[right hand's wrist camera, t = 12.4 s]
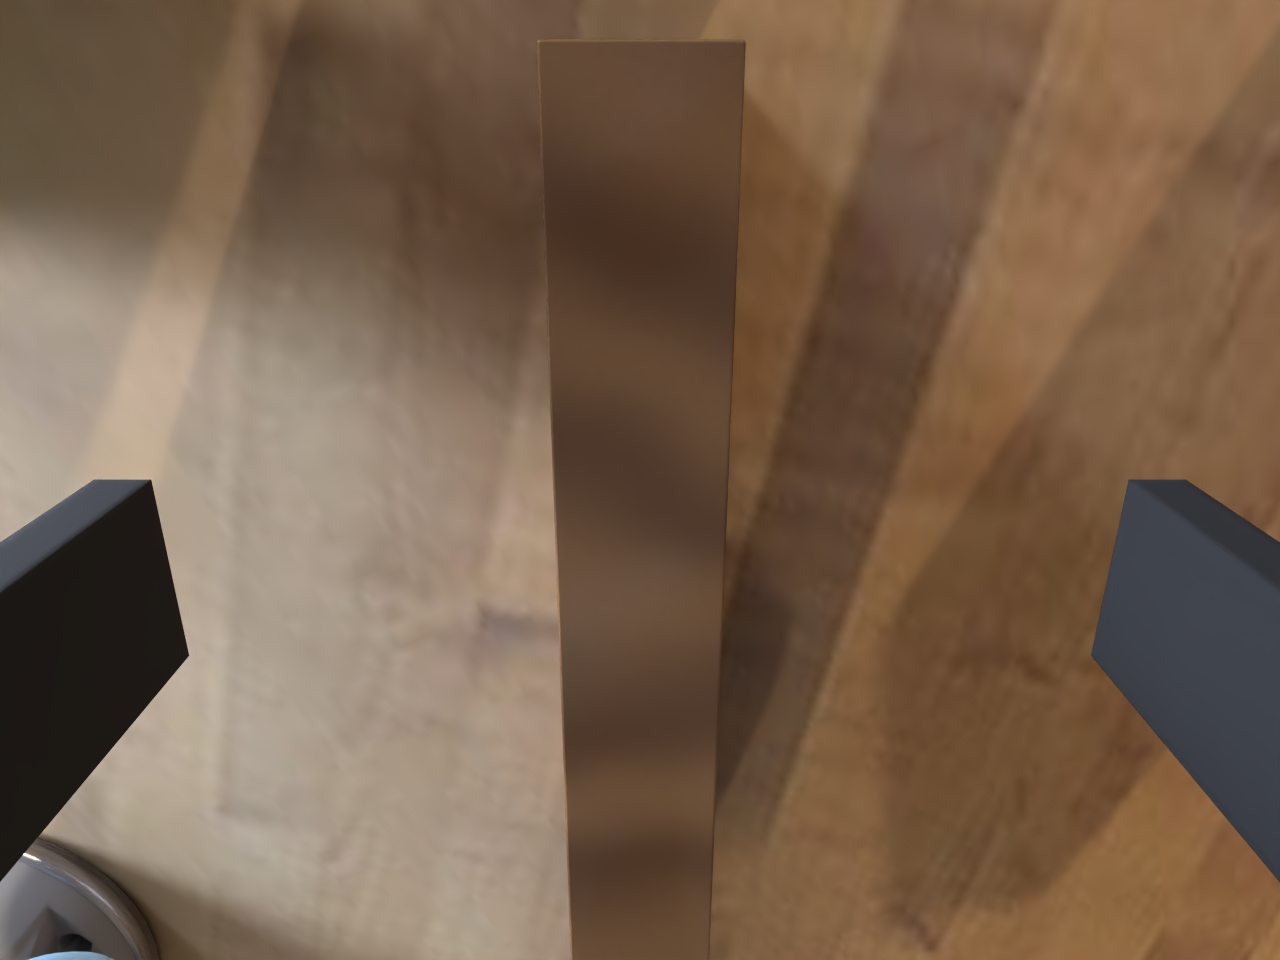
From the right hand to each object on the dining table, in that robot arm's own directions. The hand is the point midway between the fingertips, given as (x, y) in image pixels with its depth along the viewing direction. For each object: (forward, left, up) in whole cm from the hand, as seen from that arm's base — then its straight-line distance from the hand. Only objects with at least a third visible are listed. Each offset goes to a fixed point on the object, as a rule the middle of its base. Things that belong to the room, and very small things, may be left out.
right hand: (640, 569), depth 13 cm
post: (+13, -23, -21) cm, 33 cm away
